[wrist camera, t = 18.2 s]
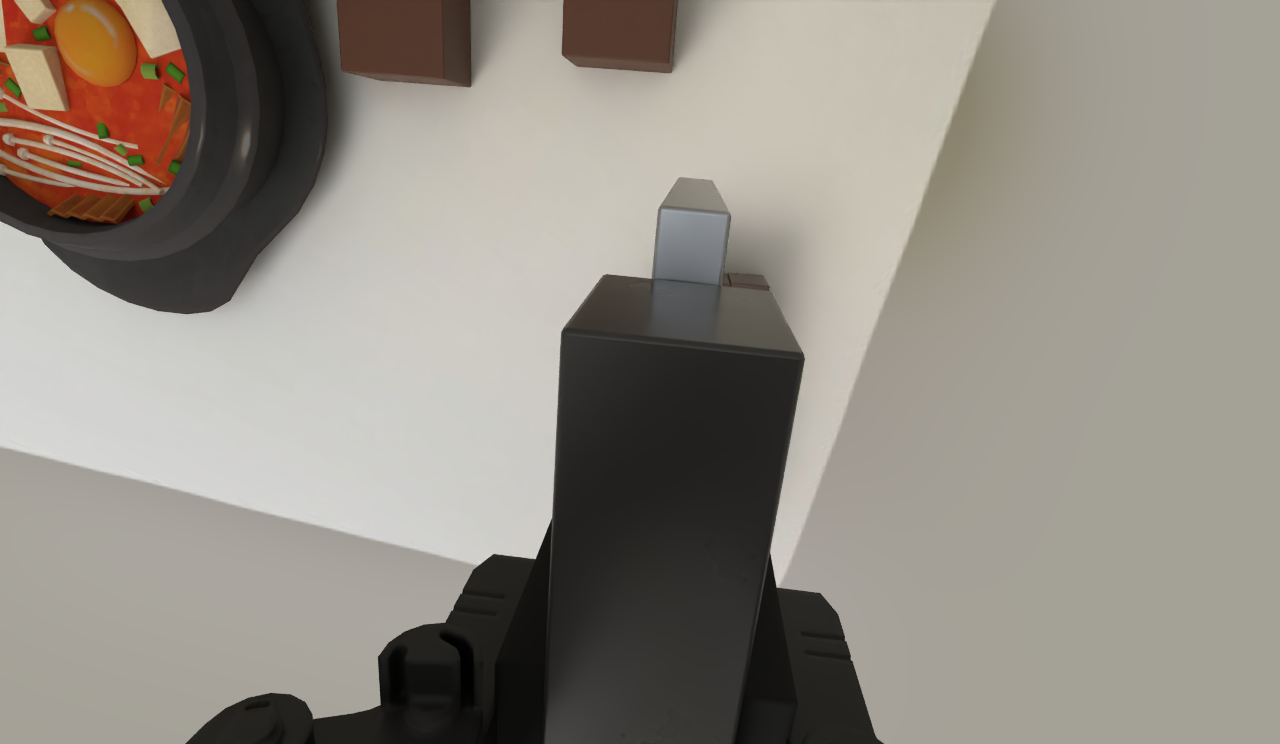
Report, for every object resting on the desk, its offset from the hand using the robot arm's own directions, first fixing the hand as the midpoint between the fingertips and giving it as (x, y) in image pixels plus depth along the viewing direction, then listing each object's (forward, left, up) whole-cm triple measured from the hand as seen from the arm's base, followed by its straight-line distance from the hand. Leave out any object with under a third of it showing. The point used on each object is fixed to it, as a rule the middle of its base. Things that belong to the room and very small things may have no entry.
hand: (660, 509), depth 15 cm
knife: (0, 0, -6) cm, 6 cm away
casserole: (+28, -9, -24) cm, 38 cm away
